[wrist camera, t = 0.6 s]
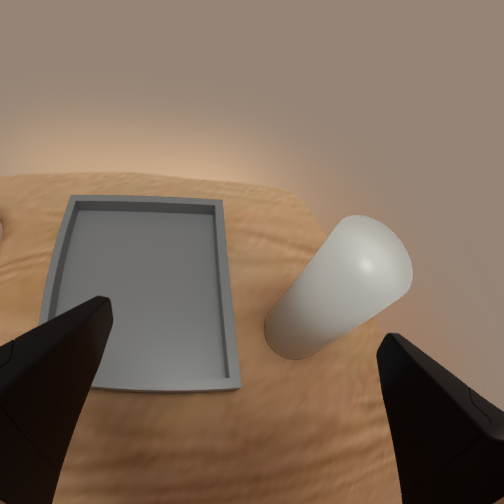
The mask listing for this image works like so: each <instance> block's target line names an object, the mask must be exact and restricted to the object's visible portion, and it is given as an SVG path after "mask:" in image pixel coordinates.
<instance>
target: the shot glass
mask: <svg viewBox="0 0 504 504" xmlns="http://www.w3.org/2000/svg"><path fill="white" fill-rule="evenodd" d="M2 233H3V230H2V225H1V223H0V241H1V238H2Z"/></svg>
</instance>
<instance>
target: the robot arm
mask: <svg viewBox="0 0 504 504" xmlns="http://www.w3.org/2000/svg"><path fill="white" fill-rule="evenodd" d="M112 326H113V312H112V304H111V300H110V298H109V297H105V296H100V295H98V296H95V297H93V298H91V299H89V300H88V301H86V302H84V303H82V304H80V305H78V306H76V307H74V308H72V309H70V310H68V311H66V312H64V313H62V314H60V315H58V316H56V317H55V318H53V319H51V320H49V321H47V322H45V323H43V324H41V325H39V326H37V327H36V328H34V329H32V330H30V331H28V332H26V333H24V334H23V335H21V336H19V337H17V338H15V340H11V341H10V342H8V343H6V344H4V345H2V346H0V504H52V502H53V498H54V494H55V490H56V486H57V483H58V479H59V476H60V471H61V468H62V465H63V462H64V459H65V455H66V452H67V449H68V446H69V443H70V440H71V437H72V435H73V432H74V429H75V426H76V423H77V421H78V418H79V415H80V413H81V410H82V407H83V405H84V402H85V400H86V397H87V395H88V392H89V390H90V387H91V385H92V383H93V380H94V378H95V375H96V373H97V371H98V368H99V366H100V363H101V360H102V357H103V354H104V351H105V347H106V344H107V341H108V338H109V335H110V332H111V329H112ZM376 357H377V363H378V370H379V376H380V383H381V390H382V395H383V400H384V404H385V408H386V413H387V417H388V422H389V426H390V431H391V436H392V441H393V446H394V451H395V457H396V462H397V468H398V475H399V481H400V488H401V494H402V495H401V496H402V504H504V412H503V411H502V410H500V409H499V408H497V407H496V406H494V405H493V404H492V403H490V402H489V401H487V400H486V399H484V398H483V397H481V396H480V395H479V394H478V393H476V392H475V391H474V390H472V389H471V388H470V387H468V386H467V385H466V384H465V383H463V382H462V381H461V380H459V379H458V378H457V377H455V376H454V375H453V374H452V373H450V372H449V371H448V370H446V369H445V368H444V367H443V366H441V365H440V364H439V363H437V362H436V361H435V360H433V359H432V358H431V357H429V356H428V355H427V354H425V353H424V352H423V351H421V350H420V349H419V348H418V347H416V346H415V345H413V344H412V343H411V342H409V341H408V340H407V339H405V338H404V337H403V336H401V335H400V334H398V333H388V334H386V336H385V337H384V339H383V341H382V343H381V345H380V346H379V348H378V350H377V354H376Z"/></svg>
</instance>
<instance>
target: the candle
mask: <svg viewBox="0 0 504 504" xmlns="http://www.w3.org/2000/svg"><path fill="white" fill-rule="evenodd" d="M412 278H413V269H412V264H411V260H410V258H409V255H408V253H407V251H406V249H405V247H404V246H403V244H402V242H401V241H400V240H399V238H398V237H397V236H396V235H395V234H394V233H393V232H392V231H391V230H390V229H389V228H387V227H386V226H385V225H383V224H382V223H380V222H379V221H377V220H375V219H372V218H370V217H367V216H362V215H352V216H348V217H346V218H344V219H343V220H342V221H340V222H339V224H338V225H337V226H336V228H335V229H334V230H333V232H332V233H331V234H330V236H329V237H328V238H327V240H326V241H325V242H324V244H323V245H322V246H321V248H320V249H319V250H318V252H317V253H316V254H315V255H314V257H313V258H312V259H311V261H310V262H309V263H308V265H307V266H306V267H305V268H304V270H303V271H302V272H301V274H300V275H299V276H298V277H297V279H296V280H295V281H294V282H293V284H292V285H291V286H290V287H289V289H288V290H287V291H286V292H285V294H284V295H283V296H282V297H281V299H280V300H279V301H278V302H277V304H276V305H275V306H274V307H273V309H272V310H271V311H270V312H269V314H268V315H267V317H266V320H265V324H264V333H265V337H266V340H267V342H268V344H269V346H270V347H271V348H272V349H273V350H274V351H275V352H276V353H277V354H278V355H280V356H282V357H284V358H287V359H291V360H300V359H304V358H306V357H308V356H310V355H312V354H313V353H315V352H317V351H319V350H320V349H322V348H324V347H326V346H327V345H329V344H331V343H332V342H334V341H336V340H337V339H339V338H340V337H342V336H344V335H345V334H347V333H348V332H350V331H352V330H353V329H355V328H356V327H358V326H359V325H361V324H362V323H364V322H365V321H367V320H368V319H370V318H371V317H373V316H374V315H376V314H377V313H379V312H380V311H382V310H383V309H385V308H386V307H387V306H389V305H390V304H392V303H393V302H395V300H397V299H399V298H400V297H401V296H403V295H404V294H405V293H406V292H407V291H408V290H409V288H410V286H411V283H412Z"/></svg>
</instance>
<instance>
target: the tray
mask: <svg viewBox="0 0 504 504" xmlns="http://www.w3.org/2000/svg"><path fill="white" fill-rule="evenodd" d="M98 295H100V296H105V297H109V298H110V300H111V304H112V312H113V326H112V329H111V332H110V335H109V338H108V341H107V344H106V347H105V351H104V354H103V357H102V360H101V363H100V366H99V368H98V371H97V373H96V375H95V378H94V380H93V383H92V385H91V387H90V389H95V390H105V391H118V392H135V393H210V392H227V391H236V390H238V389H240V388H242V385H241V376H240V368H239V360H238V351H237V343H236V334H235V325H234V316H233V306H232V297H231V287H230V277H229V267H228V256H227V245H226V234H225V223H224V211H223V200H215V199H199V198H181V197H158V196H126V195H71V197H70V199H69V202H68V205H67V208H66V211H65V214H64V217H63V220H62V223H61V226H60V230H59V233H58V236H57V240H56V243H55V247H54V251H53V254H52V258H51V262H50V267H49V271H48V275H47V280H46V285H45V290H44V295H43V301H42V306H41V313H40V319H39V325H41V324H43V323H45V322H47V321H49V320H51V319H53V318H55V317H56V316H58V315H60V314H62V313H64V312H66V311H68V310H70V309H72V308H74V307H76V306H78V305H80V304H82V303H84V302H86V301H88V300H89V299H91V298H93V297H95V296H98Z"/></svg>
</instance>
